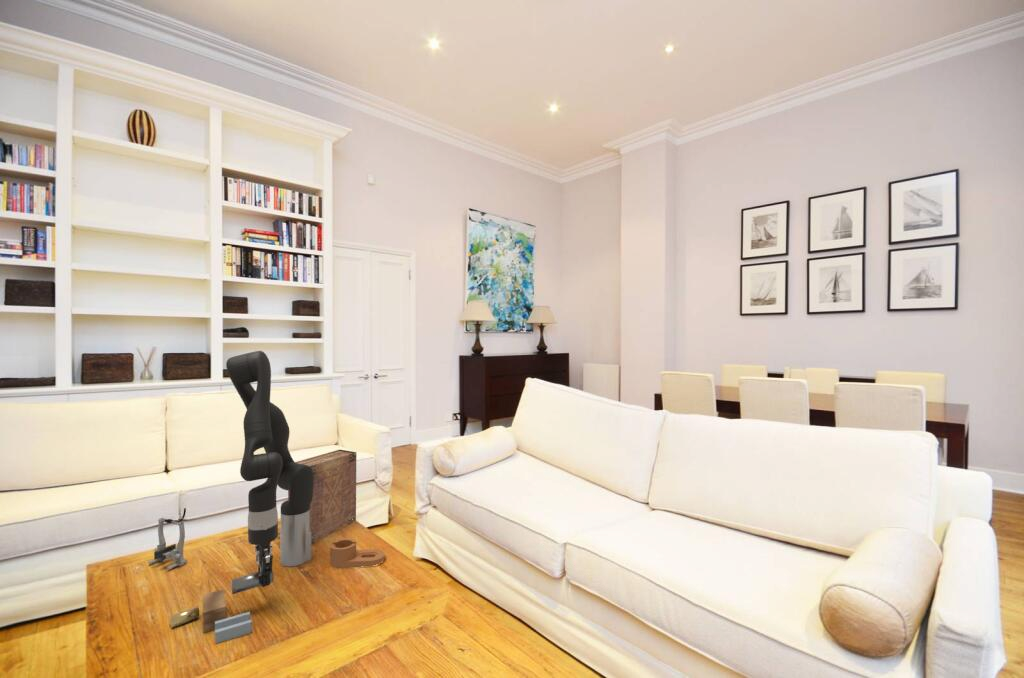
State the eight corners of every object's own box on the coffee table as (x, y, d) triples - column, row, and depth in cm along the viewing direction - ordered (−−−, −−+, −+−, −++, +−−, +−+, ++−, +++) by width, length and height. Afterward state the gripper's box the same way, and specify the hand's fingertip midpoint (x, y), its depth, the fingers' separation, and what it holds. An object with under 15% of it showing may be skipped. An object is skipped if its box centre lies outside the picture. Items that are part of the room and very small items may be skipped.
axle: (271, 581, 135) (270, 567, 136) (273, 583, 132) (272, 569, 133) (231, 593, 129) (230, 578, 130) (233, 595, 126) (232, 580, 127)
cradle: (249, 621, 125) (249, 611, 125) (251, 632, 121) (251, 621, 121) (214, 632, 121) (214, 621, 121) (215, 643, 116) (215, 632, 116)
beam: (224, 607, 132) (224, 589, 132) (225, 626, 123) (225, 606, 123) (202, 613, 129) (203, 594, 129) (203, 632, 121) (203, 612, 121)
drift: (198, 604, 127) (199, 616, 126) (196, 608, 129) (197, 619, 127) (171, 614, 123) (173, 626, 122) (169, 617, 124) (171, 629, 123)
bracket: (327, 570, 153) (327, 549, 153) (334, 558, 162) (334, 538, 161) (382, 568, 155) (382, 548, 155) (386, 556, 163) (386, 537, 163)
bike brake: (192, 564, 156) (192, 506, 156) (171, 574, 149) (171, 513, 149) (165, 557, 161) (165, 500, 160) (143, 566, 154) (144, 507, 154)
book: (304, 549, 167) (305, 467, 167) (287, 544, 171) (287, 464, 171) (356, 524, 190) (356, 451, 190) (339, 520, 194) (340, 449, 194)
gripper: (244, 518, 135) (245, 575, 136) (251, 535, 124) (253, 598, 125) (272, 512, 140) (273, 567, 140) (282, 528, 129) (283, 588, 129)
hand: (264, 581), depth 132 cm, fingers closed on axle, 3 cm apart
